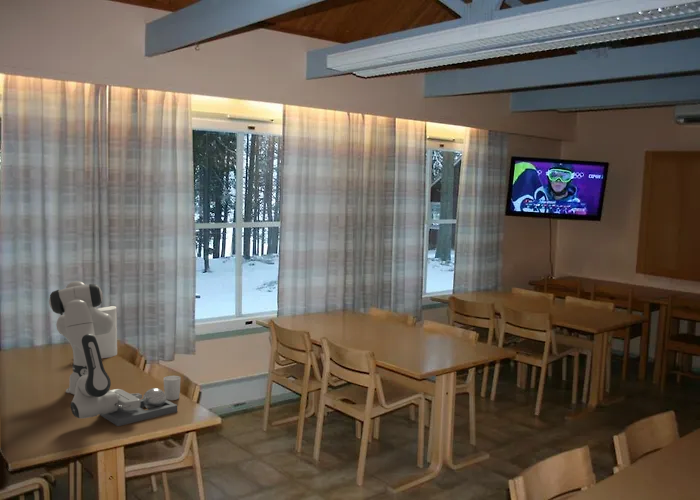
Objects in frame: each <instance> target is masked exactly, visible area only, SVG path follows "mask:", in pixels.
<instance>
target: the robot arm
mask: <svg viewBox="0 0 700 500" xmlns="http://www.w3.org/2000/svg"><path fill="white" fill-rule="evenodd" d="M103 297H104V295H103V291H102V289H101V287H100V286H99V285H97V284H96V283H95V284H94V283H89V284H85V283H84V282H82V281H79V280H75V281H74V280H73V281H71V282H69V283H68V284H67V286H66V287H65V288H62V289H56V290H53V291H52V292H50V295H49V297H48V298H49V299H48V300H49V301H48V304H49V306H50V309H51V310H52V312H54V313H55V314H58V315H60V316H59V317H58V319H57V320H56V324H55V325H56V329H57V331H58V333H59V334H60V335H62V336H63V337H65V339H66V340H67V341H68V342H69V344H70V346H71V349H72V355H73V363H72V373H71V374H70V375H69V387H68V388H67V389H66V390H65V393H67V394H71V395H74V396H73V398H72V400H71V402H70V409H71V413H72V414H73V417H75V418H77V419H88V418H93V417H97V416H100V414H107V413H111V412H116V411H117V410H118V408H121V409H123V410H129V409H135V408H139V407H140V406H141V401H140V399H143V395H142V394H141V393H139V392H138V393H137V392H136V393H129V392H127V391H125V390H124V389H122V388H121V389H120V388H115V389H110V388H111V385H112V384H111V378H110V376H109V374H108V373H107V371H106V370H105V367H104V363H103V358H101V355H100V351H99V347H98V343H97V340H96V337H95V335H102V334H106V333H109V332H110V331H111V329H112V327H113V319H112V317H111V316H110V315H109V314H107V313H104V312H102V311H100V310H99V309H98V308H97V307H99V306H101V304H102V302H103Z"/></svg>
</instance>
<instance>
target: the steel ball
mask: <svg viewBox="0 0 700 500" xmlns="http://www.w3.org/2000/svg"><path fill="white" fill-rule="evenodd" d="M142 399H143V404H144V406H145V407H144V408H146V410H149V409H153V408H157V407H162V406H163V405H164V404H165V401H166V396H165V393H164V390H162V389H160V388H157V387H152V388H150V389H148V390H147V391H146V392H144V394H143V395H142Z"/></svg>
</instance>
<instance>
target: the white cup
mask: <svg viewBox="0 0 700 500" xmlns="http://www.w3.org/2000/svg"><path fill="white" fill-rule="evenodd" d="M163 392H164V394H165V396H166V400H168V401H176V400H179V399H180V394H181V393H180V392H181V376H179V375H167V376H165V377H163Z"/></svg>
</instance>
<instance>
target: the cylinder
mask: <svg viewBox="0 0 700 500" xmlns="http://www.w3.org/2000/svg"><path fill="white" fill-rule="evenodd" d="M97 309H99V310H100V311H102V312H104V313H107V314H109V315H110V316H111V317H112V319H113V327H112V329H111V331H110V332H109V333H106V334H102V335H95V337H96V340H97V343H98V347H99V351H100V355H101V359H106V358H113V357H115V356H117V355H118V329H117V328H118V319H117V317H118V316H117V315H118V314H117V306H114V305H111V306H104V307H99V308H97Z"/></svg>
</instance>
